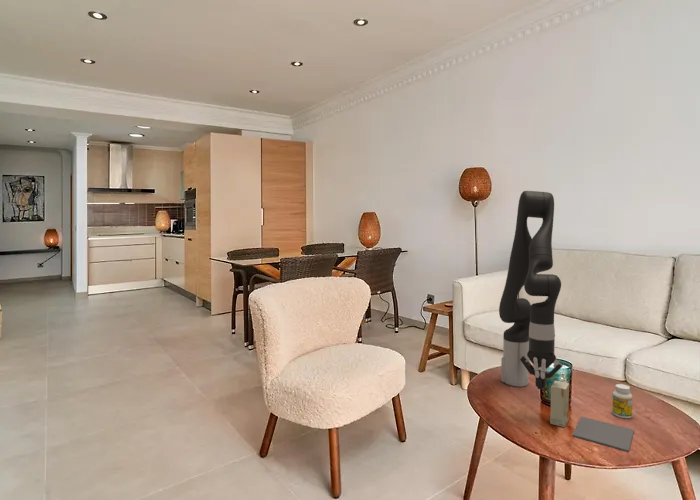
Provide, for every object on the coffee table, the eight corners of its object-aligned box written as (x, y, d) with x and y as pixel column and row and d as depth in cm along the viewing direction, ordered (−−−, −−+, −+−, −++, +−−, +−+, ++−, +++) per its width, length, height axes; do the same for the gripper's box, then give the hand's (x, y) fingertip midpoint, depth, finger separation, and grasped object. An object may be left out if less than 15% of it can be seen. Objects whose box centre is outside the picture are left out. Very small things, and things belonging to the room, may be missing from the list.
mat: (572, 436, 124) (572, 434, 124) (581, 417, 135) (581, 416, 135) (628, 452, 115) (628, 450, 115) (633, 431, 126) (633, 429, 126)
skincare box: (565, 428, 129) (565, 389, 128) (549, 424, 131) (550, 386, 130) (568, 419, 134) (569, 382, 133) (554, 416, 136) (554, 379, 135)
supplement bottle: (635, 416, 135) (636, 387, 134) (625, 420, 133) (626, 391, 132) (618, 409, 140) (619, 381, 139) (608, 413, 138) (609, 385, 137)
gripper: (516, 335, 135) (516, 387, 136) (561, 342, 127) (560, 397, 128) (523, 330, 141) (523, 380, 142) (567, 336, 133) (565, 389, 134)
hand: (540, 388), depth 135 cm, fingers closed
